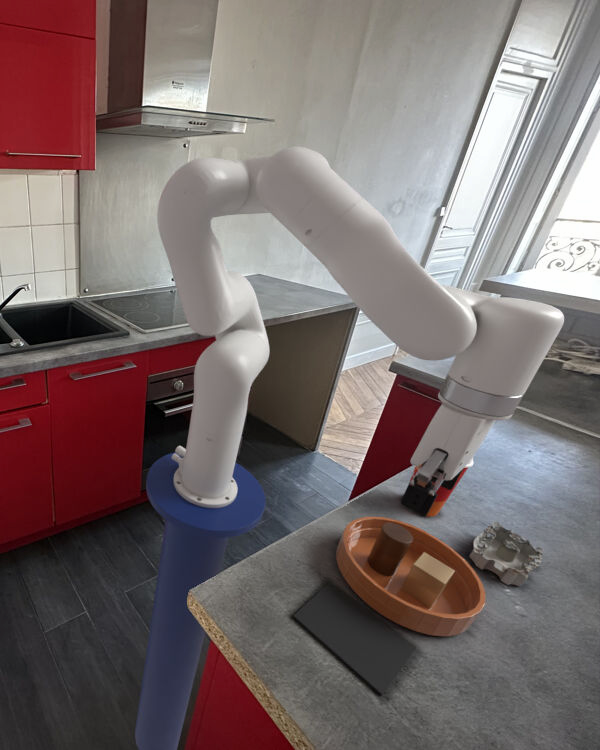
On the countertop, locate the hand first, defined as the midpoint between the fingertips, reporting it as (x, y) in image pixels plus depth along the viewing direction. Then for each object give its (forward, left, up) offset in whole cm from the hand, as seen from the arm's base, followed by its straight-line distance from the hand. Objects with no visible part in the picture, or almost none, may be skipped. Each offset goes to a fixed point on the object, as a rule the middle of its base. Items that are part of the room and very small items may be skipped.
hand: (426, 496), depth 60 cm
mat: (+2, -16, -16) cm, 22 cm away
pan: (+2, -1, -16) cm, 16 cm away
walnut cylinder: (-1, -1, -15) cm, 15 cm away
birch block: (+5, -1, -15) cm, 16 cm away
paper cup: (-3, +21, -16) cm, 26 cm away
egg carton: (+10, +18, -16) cm, 26 cm away
